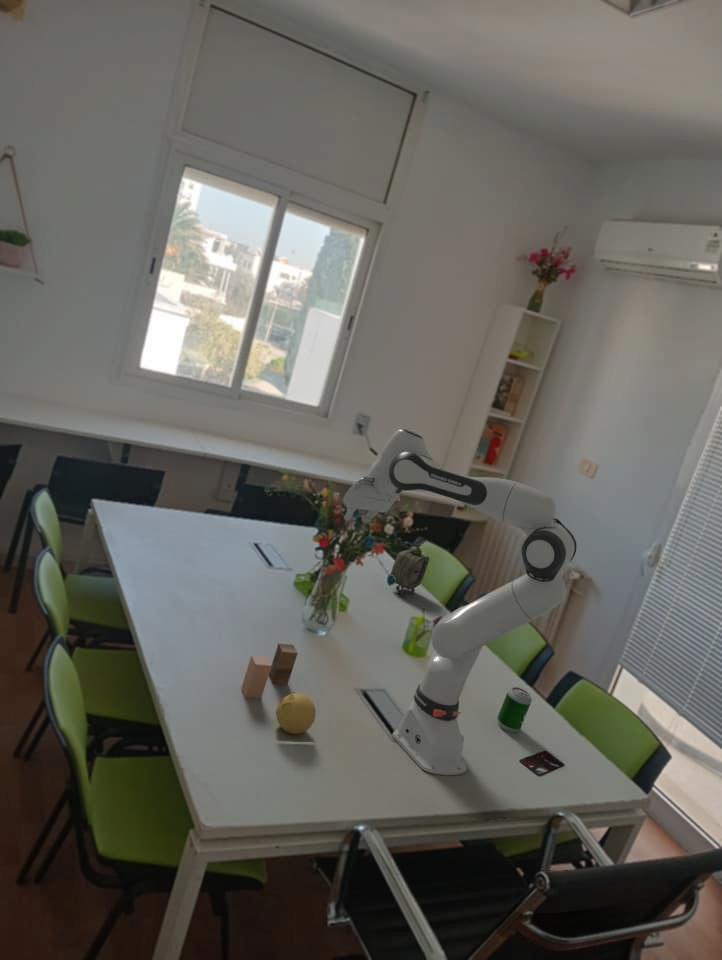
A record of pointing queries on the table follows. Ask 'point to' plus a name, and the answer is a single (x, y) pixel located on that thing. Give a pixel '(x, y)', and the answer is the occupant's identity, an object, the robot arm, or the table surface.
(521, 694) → the soda can
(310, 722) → the stress ball
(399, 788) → the table surface
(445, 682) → the robot arm
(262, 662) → the terracotta pillar
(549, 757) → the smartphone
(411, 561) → the rolling backpack
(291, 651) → the walnut pillar
